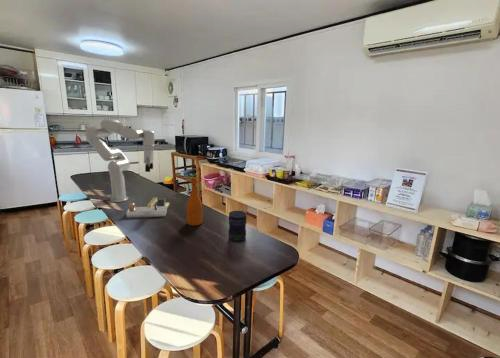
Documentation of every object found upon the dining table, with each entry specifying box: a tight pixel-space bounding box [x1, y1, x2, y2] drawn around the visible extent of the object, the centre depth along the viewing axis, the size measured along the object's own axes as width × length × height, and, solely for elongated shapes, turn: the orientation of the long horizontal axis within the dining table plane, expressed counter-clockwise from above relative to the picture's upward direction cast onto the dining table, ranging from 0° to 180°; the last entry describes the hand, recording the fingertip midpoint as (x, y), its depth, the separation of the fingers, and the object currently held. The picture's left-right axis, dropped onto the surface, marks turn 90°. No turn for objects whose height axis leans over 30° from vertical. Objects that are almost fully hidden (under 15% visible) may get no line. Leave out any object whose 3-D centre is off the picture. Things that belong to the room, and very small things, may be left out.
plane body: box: [126, 202, 168, 219], centre depth 169 cm, size 24×9×9 cm, turn 100°
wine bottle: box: [185, 176, 204, 227], centre depth 155 cm, size 10×10×30 cm
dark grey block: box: [157, 197, 166, 206], centre depth 185 cm, size 6×5×5 cm
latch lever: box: [147, 196, 158, 208], centre depth 162 cm, size 15×2×2 cm, turn 6°
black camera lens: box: [228, 210, 247, 244], centre depth 138 cm, size 10×10×15 cm
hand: (149, 170), depth 187 cm, fingers open, 9 cm apart
